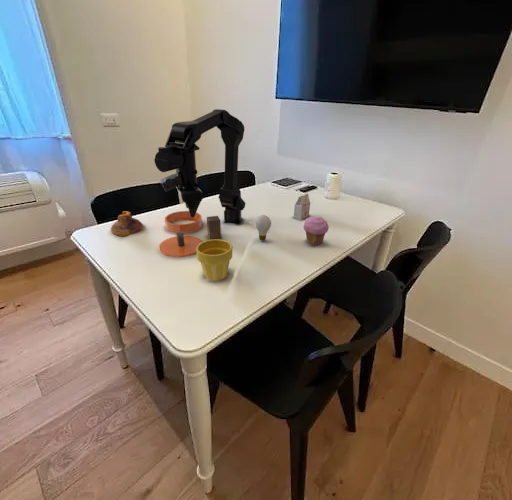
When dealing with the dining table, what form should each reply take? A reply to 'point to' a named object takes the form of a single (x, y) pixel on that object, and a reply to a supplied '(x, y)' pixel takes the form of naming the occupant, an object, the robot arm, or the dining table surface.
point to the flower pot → (214, 258)
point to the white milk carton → (302, 207)
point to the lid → (179, 245)
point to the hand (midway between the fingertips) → (190, 212)
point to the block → (214, 227)
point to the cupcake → (315, 229)
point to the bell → (126, 225)
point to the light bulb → (262, 226)
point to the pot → (183, 227)
